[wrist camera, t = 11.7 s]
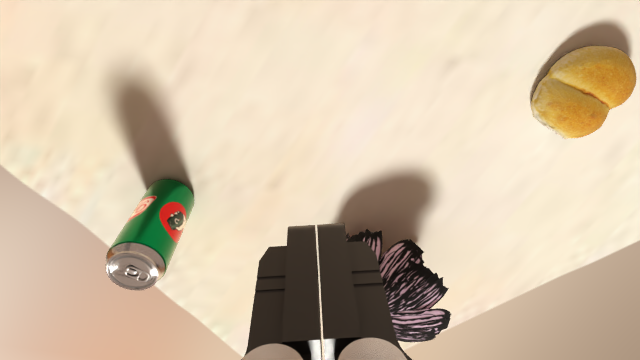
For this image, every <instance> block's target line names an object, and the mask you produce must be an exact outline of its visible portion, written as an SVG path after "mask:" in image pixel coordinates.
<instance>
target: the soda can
mask: <svg viewBox="0 0 640 360" xmlns="http://www.w3.org/2000/svg"><path fill="white" fill-rule="evenodd" d="M193 206H194V197H193V194H192V192H191V191H190V190H189V188H188V187H187V186H185V185H184V184H182V183H181V182H178V181H176V180H171V179H162V180H158V181H156V182H154V183H153V184H152V185H151V186H150V187H149V188H148V190H147V192H146V193H145V195H144V196H143V198H142V199H141V201H140V202H139V204H138V206H137V207H136V209H135V210H134V212H133V213H132V215H131V216H130V218H129V220H128V221H127V223H126V224H125V226H124V227H123V229H122V231H121V232H120V234H119V235H118V237H117V238H116V240H115V241H114V243H113V245H112V246H111V248H110V249H109V251H108V253H107V257H106V261H107V263H106V273H107V275H108V277H109V278H110V279H111V280H112V281H113V282H114V283H115V284H117V285H119V286H120V287H123V288H126V289H130V290H144V289H147V288H150V287H151V286H153V285H154V284H155V283H156V282H157V281H158V280H160V279H161V278H162V277H163V276H164V274H165V272H166V270H167V267H168V265H169V263H170V260H171V258H172V256H173V253H174V251H175V248H176V246H177V244H178V241H179V239H180V237H181V234H182V232H183V230H184V227H185V225H186V222H187V220H188V218H189V215H190V213H191V211H192V208H193Z"/></svg>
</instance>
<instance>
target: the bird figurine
mask: <svg viewBox="0 0 640 360" xmlns="http://www.w3.org/2000/svg"><path fill="white" fill-rule="evenodd" d="M349 237H350V236H349V235H348V234H347V235H346V239H347V242H360V241H365V242H366V243H367V244H368V245H369V246H370V248H371V249H372V250H373V251H374V252H375V253H376V256H377V260H378V264H379V268H380V273H381V276H382V281H383V286H384V289H385V293H386V297H387V301H388V305H389V310H390V314H391V318H392V322H393V326H394V330H395V334H396V338H397V341H403V342H423V341H428V340H432V339H433V338H435V335H437V334H439V333H440V332H441V330H443V329H446V328H447V327H448V324H449V321H450V315H451V314H449V313H450V312H449V311H447V310H444V309H430V308H431V307H433V306H434V305H435V304H436V303H437V302H438V301H439V300H440V299H441V298H442V297H443V296H444V295H445V293H446V292H447V290H448V289H449V288H446V287H445V286H443V277H442V278H440V279H439V278H438V275H437V273H435V274H433V273H432V271H431V270H430V269H429V268H426V267H424V266H423V263H424V261H423V260H422V253H424V252H423V251H422V250H421V249H420V248H419V247H418V246H417V245H416V244H415V243H413V242H412V241H411V239H410V240H409V241H408V239H407V240H402V241H400V242H397V243H396V244H394V245H393V246H392V247H391V248H390V249H388V250H387V251H386V252H385V253H384V254H383V255H382V256H381V250H382V230H381V231H379V232H374V233H372V232H370V231H369V230H368V229H367V230H366V231H365V233H364V232H359V234H358V235H353V236H352V237H351V238H349ZM380 257H381V258H380Z"/></svg>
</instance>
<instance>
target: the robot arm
mask: <svg viewBox="0 0 640 360" xmlns="http://www.w3.org/2000/svg"><path fill="white" fill-rule="evenodd" d="M317 228H318V246H319V265H320V283H321V302H322V320H323V338H324V355H325V360H412V359H411V358H410V357H409V356H407V354H406V353H405V352H404V351H403V350H402V348H401V347H400V345H399V343H398V341H397V338H396V334H395V330H394V326H393V322H392V318H391V314H390V310H389V305H388V301H387V297H386V293H385V289H384V286H383V281H382V276H381V273H380V268H379V264H378V260H377V256H376V253H375V252H374V251H373V250H372V249H371V248H370V246H369V245H368V244H367V243H366V242H365V241H360V242H347V239H346V232H345V226H344V223H340V224H323V225H317ZM241 360H322V345H321V324H320V304H319V283H318V266H317V250H316V234H315V225H308V226H291V227H288V236H287V246H277V247H269V248H268V249H267V251H266V252H265V254H264V255H263V257H262V258H261V259H260V261H259V267H258V275H257V282H256V289H255V296H254V304H253V311H252V318H251V326H250V333H249V340H248V347H247V351H246V354H245V356H244V357H243V358H242V359H241Z"/></svg>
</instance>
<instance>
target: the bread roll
mask: <svg viewBox="0 0 640 360" xmlns="http://www.w3.org/2000/svg"><path fill="white" fill-rule="evenodd" d="M635 84H636V72H635V68H634V65H633V63H632V61H631V59H630V58H629V57H628V56H627V55H626V54H625V53H624V52H623V51H621V50H619V49H617V48H613V47H609V46H587V47H583V48H579V49H576V50H574V51H572V52H570V53H568V54H566V55H565V56H563V57H562V58H561V59H559V60H558V61H557V62H556V63H555V64H554V65H553V66H552V67H551V68H550V70H549V72H548V74H547V75H546V76H545V77H544V78H543V79H542V80H541V81H540V82H539V84H538V86H537V88H536V90H535V92H534V94H533V98H532V101H531V109H532V113H533V117H534V118H535V119H536V120H538V121H539V122H540V123H541V124H542V125H544V126H546V127H547V128H548V129H550V130H552V131H554V132H555V133H556V134H558V135H560V136H562V137H563V138H564V139H568V138H579V137H583V136H586V135H588V134H591V133H593V132H594V131H596V130H597V129H599V128H600V127H601V126H602V124H603V122H604V121H605V119H606V117H607V114H608V112H609V110H610V109H612V108H614V107H617V106H619V105H621V104H622V103H624V102H625V101H626V100H627V99H628V98H629V97H630V95H631V94H632V92H633V90H634V87H635Z"/></svg>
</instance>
